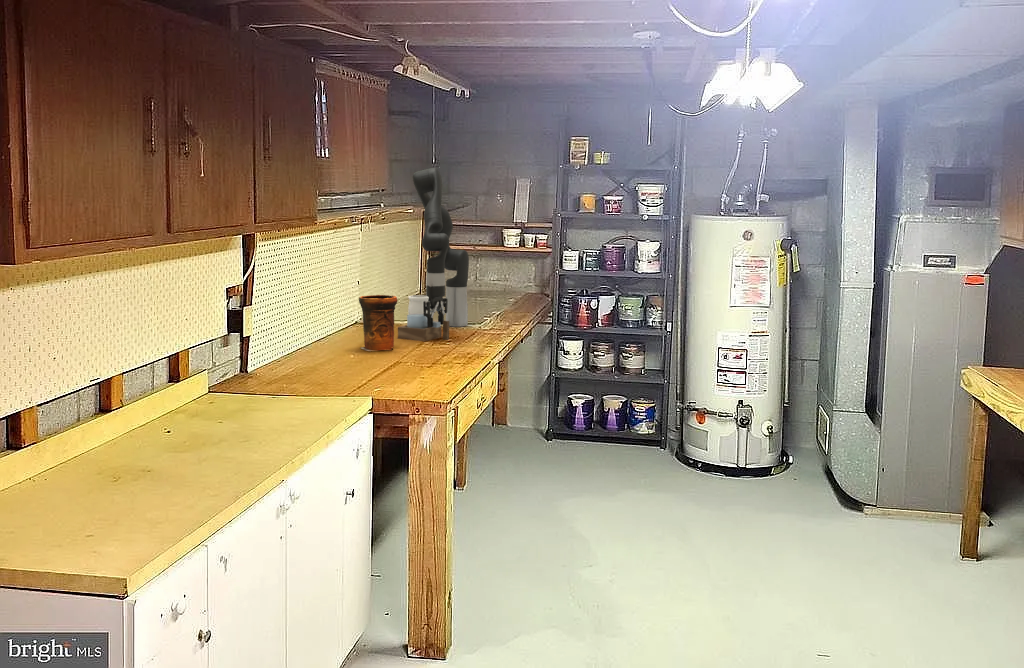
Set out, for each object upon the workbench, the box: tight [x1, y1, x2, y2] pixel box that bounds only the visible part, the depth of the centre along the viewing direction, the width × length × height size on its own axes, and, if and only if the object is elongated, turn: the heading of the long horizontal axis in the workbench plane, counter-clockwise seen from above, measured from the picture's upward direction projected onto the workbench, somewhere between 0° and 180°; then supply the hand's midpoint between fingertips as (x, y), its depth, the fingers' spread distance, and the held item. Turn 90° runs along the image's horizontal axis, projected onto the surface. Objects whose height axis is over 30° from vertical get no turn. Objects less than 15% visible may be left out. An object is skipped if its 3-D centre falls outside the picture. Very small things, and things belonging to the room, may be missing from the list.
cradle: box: [396, 320, 450, 342], centre depth 394 cm, size 14×19×8 cm
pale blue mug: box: [406, 314, 442, 329], centre depth 393 cm, size 15×8×9 cm, turn 55°
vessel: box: [358, 294, 398, 352], centre depth 372 cm, size 14×14×20 cm
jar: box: [407, 294, 431, 315], centre depth 415 cm, size 11×10×15 cm
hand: (435, 325), depth 391 cm, fingers open, 7 cm apart
